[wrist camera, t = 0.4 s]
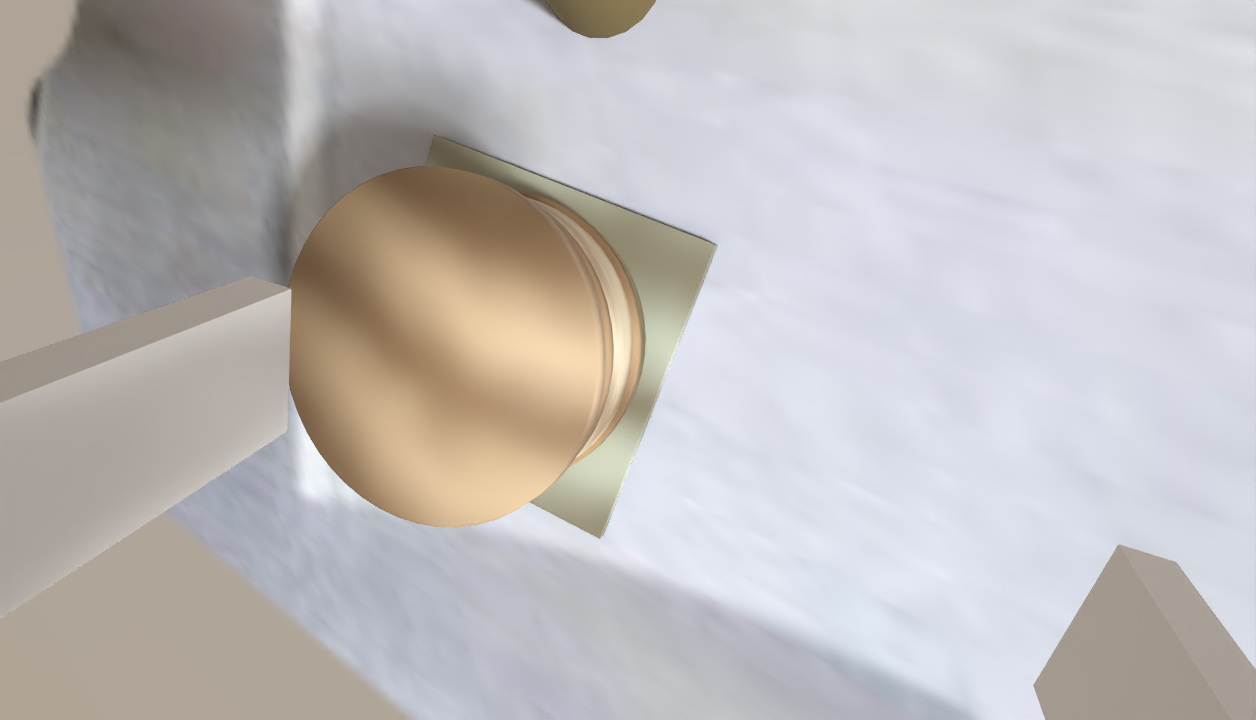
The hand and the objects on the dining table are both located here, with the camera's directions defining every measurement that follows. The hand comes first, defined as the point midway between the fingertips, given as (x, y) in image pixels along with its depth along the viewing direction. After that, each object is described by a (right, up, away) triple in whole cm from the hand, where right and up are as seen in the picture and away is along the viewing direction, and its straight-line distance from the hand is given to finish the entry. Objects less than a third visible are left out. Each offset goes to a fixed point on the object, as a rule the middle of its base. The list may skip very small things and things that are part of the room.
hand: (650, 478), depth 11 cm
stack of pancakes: (-6, +3, +27) cm, 28 cm away
